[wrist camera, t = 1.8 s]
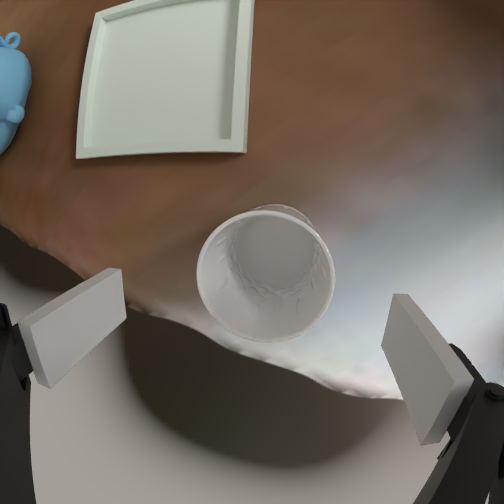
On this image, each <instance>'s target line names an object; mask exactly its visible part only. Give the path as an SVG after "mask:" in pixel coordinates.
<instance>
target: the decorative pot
mask: <svg viewBox="0 0 504 504" xmlns="http://www.w3.org/2000/svg"><path fill="white" fill-rule="evenodd" d="M11 38H13V42H12V44H11V45H10V44H8V43H9V40H10V39H11ZM19 43H20V35H19V34H18V33H16V32H11V33H9V34H8V35H7V36H6V37H5V40H4V39H3V38H2V37H1V36H0V155H1V154H2V153H3V152H4V151H5V150H6V149H7V147H8V146H9V144H10V143H11V141H12V139H13V138H14V136H15V134H16V130H17V128H18V125H19V123H20V122H21V121H22V119H23V118H24V115H25V110H24V108H25V105H26V101H27V97H28V93H29V89H30V87H31V84H32V79H31V74H32V72H31V66H30V64H29V61H28V59H27V58H26V56H25V55H24V54H23V53H22V52H20V51H19V50H16V48H17V47H18V46H19Z"/></svg>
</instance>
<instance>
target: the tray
mask: <svg viewBox="0 0 504 504" xmlns="http://www.w3.org/2000/svg"><path fill="white" fill-rule="evenodd" d="M254 3H255V0H135V1H131V2H128V3H124V4H121V5H118V6H115V7H112V8H109V9H106V10H103V11H100V12H97V13H96V15H95V18H94V23H93V27H92V31H91V35H90V40H89V45H88V50H87V55H86V61H85V67H84V73H83V80H82V87H81V95H80V104H79V114H78V126H77V142H76V159H88V158H99V157H111V156H124V155H140V154H162V153H247V132H248V112H249V92H250V73H251V55H252V37H253V20H254Z"/></svg>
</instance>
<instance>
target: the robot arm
mask: <svg viewBox="0 0 504 504" xmlns="http://www.w3.org/2000/svg"><path fill="white" fill-rule="evenodd" d="M125 319H126V310H125V302H124V293H123V283H122V272H121V269H117V268H107V269H106V270H104V271H102V272H100V273H98V274H97V275H95V276H93V277H91V278H90V279H88V280H86V281H84V282H83V283H81V284H79V285H77V286H76V287H74V288H72V289H70V290H69V291H67V292H65V293H64V294H62V295H60V296H59V297H57V298H56V299H54V300H52V301H50V302H49V303H47V304H45V305H44V306H42V307H41V308H39V309H37V310H35V311H34V312H32V313H31V314H29V315H28V316H26V317H24V318H22V319H21V320H19V321H18V323H17V324H15V325H14V326H12V324H11V321H10V317H9V313H8V309H7V306H6V305H5V304H2V303H0V504H36V499H35V493H34V485H33V476H32V466H31V453H30V390H31V381H30V378H29V374H30V373H31V372H32V371H34V374H35V377H36V379H37V382H38V383H39V384H41V385H43V386H45V387H47V388H49V389H51V388H52V387H53V386H54V385H55V384H56V383H57V382H58V381H59V380H60V379H61V378H62V377H64V376H65V375H66V374H67V373H68V372H69V371H70V370H71V369H72V368H73V367H74V366H75V365H76V364H77V363H78V362H79V361H80V360H81V359H83V358H84V357H85V356H86V355H87V354H88V353H89V352H90V351H91V350H92V349H93V348H94V347H95V346H97V345H98V344H99V343H100V342H101V341H102V340H103V339H104V338H105V337H106V336H107V335H108V334H110V333H111V332H112V331H113V330H114V329H115V328H116V327H117V326H118V325H119V324H120V323H122V322H123V321H124V320H125ZM381 346H382V348H383V351H384V353H385V355H386V358H387V360H388V362H389V365H390V367H391V369H392V372H393V374H394V377H395V379H396V382H397V384H398V386H399V389H400V391H401V394H402V397H403V399H404V402H405V404H406V407H407V409H408V412H409V415H410V417H411V420H412V423H413V426H414V428H415V431H416V434H417V436H418V439H419V442H420V445H427V444H433V443H439V442H440V441H441V439H442V438H443V436H444V434H445V433H446V431H448V433H449V435H450V440H449V441H448V443H447V445H446V446H445V448H444V449H443V451H442V452H441V453H440V455H439V456H438V458H437V459H439V460H438V462H437V464H436V466H435V468H434V470H433V471H432V473H431V475H430V477H429V479H428V480H427V482H426V484H425V485H424V487H423V489H422V490H421V492H420V493H419V495H418V497H417V498H416V500H415V502H414V503H413V504H485V502H486V499H487V496H488V493H489V491H490V493H489V502H488V504H504V387H503V386H501V385H499V384H496V383H486V382H485V381H484V379H483V378H482V376H481V375H480V374H479V372H478V371H477V370H476V368H475V367H474V366H473V365H471V364H472V363H471V362H470V361H469V359H467V357H466V355H465V354H464V353H463V352H462V350H461V349H459V348H458V347H456V346H455V345H453V344H448V343H447V342H446V340H445V339H444V338H443V337H442V335H441V334H440V333H439V331H438V330H437V329H436V328H435V326H434V325H433V324H432V323H431V321H430V320H429V319H428V318H427V317H426V315H425V314H424V313H423V312H422V310H421V309H420V308H419V307H418V306H417V304H416V303H415V302H414V301H413V300H412V298H411V297H410V296H409V295H408V294H393V298H392V303H391V307H390V312H389V316H388V320H387V324H386V328H385V332H384V336H383V340H382V344H381Z"/></svg>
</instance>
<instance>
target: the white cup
mask: <svg viewBox="0 0 504 504" xmlns="http://www.w3.org/2000/svg"><path fill="white" fill-rule="evenodd" d="M196 278H197V286H198V290H199V294H200V296H201V299H202V301H203V303H204V305H205V307H206V309H207V310H208V312H209V313H210V314H211V316H212V317H213V318H214V319H215V320H216V321H217V322H218V323H219V324H220V325H221V326H223V327H224V328H225V329H227V330H228V331H230V332H232V333H233V334H235V335H237V336H240V337H242V338H245V339H248V340H252V341H258V342H279V341H284V340H288V339H291V338H294V337H296V336H299V335H301V334H302V333H304V332H306V331H307V330H309V329H310V328H311V327H313V326H314V325H315V324H316V323H317V322H318V321H319V320H320V319H321V318H322V316H323V315H324V314H325V312H326V310H327V309H328V307H329V305H330V302H331V300H332V297H333V293H334V288H335V269H334V264H333V260H332V257H331V254H330V252H329V250H328V248H327V246H326V245H325V243H324V241H323V240H322V238H321V236H320V234H319V233H318V231H317V229H316V228H315V227H314V225H313V224H312V223H311V221H310V220H309V219H308V218H307V217H306V216H305V215H303V214H302V213H301V212H300V211H298V210H297V209H296V208H293V207H290V206H286V205H283V204H279V203H277V204H268V205H263V206H259V207H256V208H253V209H250V210H248V211H246V212H244V213H241V214H239V215H237V216H234V217H232V218H230V219H228V220H227V221H225V222H224V223H222V224H221V225H220V226H218V227H217V228H216V229H215V230H214V231H213V232H212V233H211V235H210V236H209V237H208V239H207V240H206V242H205V243H204V245H203V247H202V249H201V252H200V254H199V258H198V262H197V270H196Z"/></svg>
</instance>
